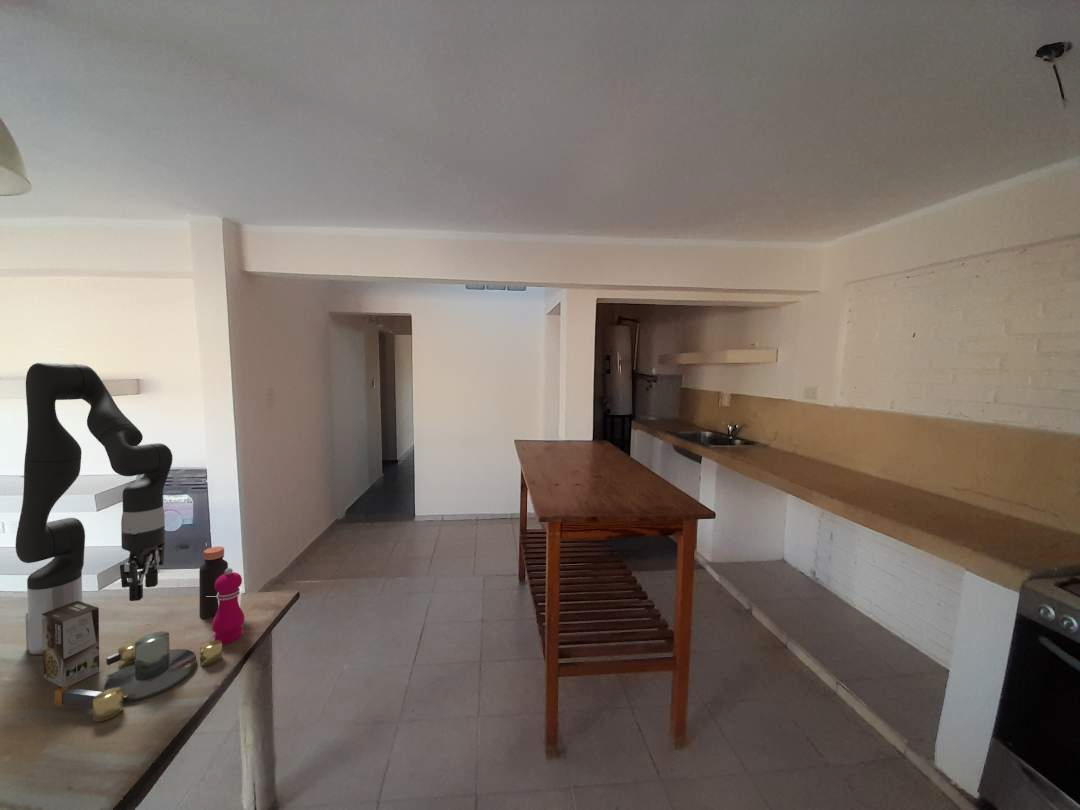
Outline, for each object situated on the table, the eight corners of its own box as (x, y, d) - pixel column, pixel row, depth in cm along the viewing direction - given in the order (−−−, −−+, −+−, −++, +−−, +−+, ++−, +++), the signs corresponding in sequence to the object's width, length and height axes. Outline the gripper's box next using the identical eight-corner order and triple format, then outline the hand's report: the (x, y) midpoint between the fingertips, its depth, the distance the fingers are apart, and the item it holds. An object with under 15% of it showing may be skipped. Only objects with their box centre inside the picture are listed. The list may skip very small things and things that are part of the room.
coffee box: (101, 671, 99) (100, 607, 98) (63, 689, 93) (62, 622, 92) (80, 661, 102) (78, 599, 101) (41, 678, 95) (40, 612, 95)
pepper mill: (226, 648, 109) (226, 576, 108) (204, 643, 110) (204, 572, 109) (250, 632, 116) (251, 564, 115) (230, 627, 117) (230, 561, 116)
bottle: (195, 621, 120) (195, 555, 118) (204, 609, 126) (204, 546, 125) (223, 616, 122) (224, 552, 121) (230, 605, 129) (230, 544, 127)
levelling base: (64, 696, 91) (63, 656, 90) (151, 643, 109) (151, 609, 109) (159, 708, 89) (158, 667, 88) (230, 652, 107) (230, 617, 107)
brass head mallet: (46, 715, 85) (45, 696, 85) (71, 698, 90) (71, 681, 89) (105, 722, 84) (105, 704, 84) (129, 705, 89) (128, 688, 88)
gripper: (141, 517, 103) (141, 581, 104) (103, 538, 90) (104, 611, 91) (177, 515, 106) (177, 577, 107) (146, 535, 92) (146, 606, 93)
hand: (144, 592), depth 99 cm, fingers open, 6 cm apart
